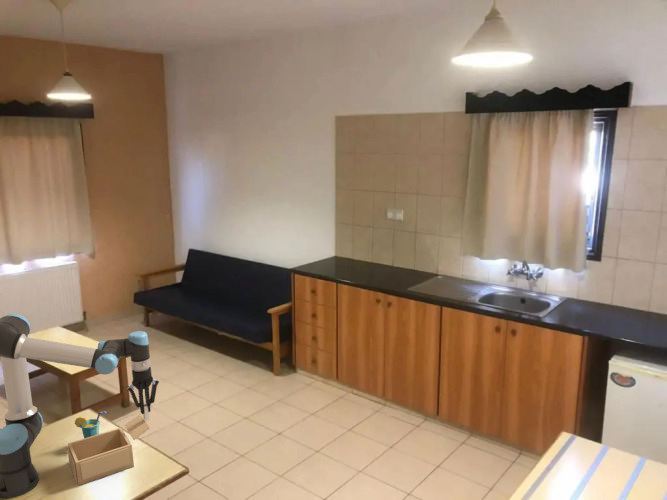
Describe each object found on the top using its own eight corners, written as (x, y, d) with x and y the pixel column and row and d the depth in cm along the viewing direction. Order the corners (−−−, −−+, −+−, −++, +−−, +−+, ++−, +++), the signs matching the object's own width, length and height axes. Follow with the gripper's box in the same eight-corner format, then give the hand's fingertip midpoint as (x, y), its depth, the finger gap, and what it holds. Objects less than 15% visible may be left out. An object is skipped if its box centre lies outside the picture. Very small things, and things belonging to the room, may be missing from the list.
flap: (149, 427, 224) (150, 428, 224) (139, 414, 235) (140, 414, 235) (133, 439, 221) (133, 440, 221) (124, 425, 232) (124, 426, 232)
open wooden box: (77, 487, 208) (74, 464, 206) (68, 465, 223) (66, 443, 221) (134, 467, 221) (132, 445, 219) (122, 447, 235) (120, 426, 233)
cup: (111, 436, 244) (108, 406, 241) (112, 445, 237) (108, 414, 234) (77, 444, 239) (73, 413, 236) (77, 453, 232) (73, 421, 229)
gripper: (127, 375, 218) (133, 428, 223) (159, 367, 226) (164, 418, 230) (122, 369, 224) (128, 420, 229) (154, 361, 232) (158, 411, 236)
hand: (146, 419), depth 230 cm, fingers closed
